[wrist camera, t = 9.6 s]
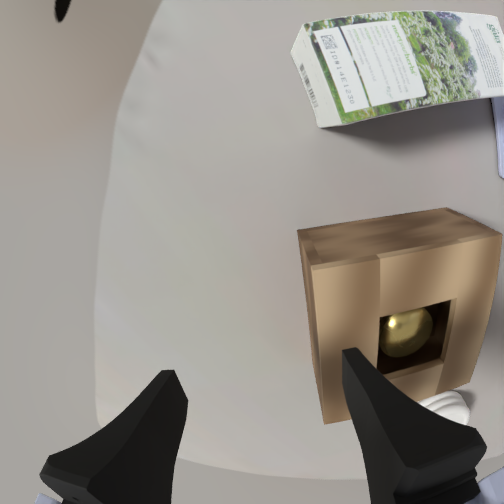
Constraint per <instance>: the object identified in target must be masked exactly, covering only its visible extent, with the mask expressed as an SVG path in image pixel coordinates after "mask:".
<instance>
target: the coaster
mask: <svg viewBox="0 0 504 504" xmlns="http://www.w3.org/2000/svg"><path fill="white" fill-rule="evenodd" d="M418 403H419V404H420V405H422V406H424V407H425V408H427V409H429V410H431V411H433V412H435V413H437V414H439V415H440V416H443V417H445V418H447V419H450V420H452V421H455V422H457V423H460V424H464V425H467V423H468V421H469V418H470V409H469V408H468V407H467V406H466V403H465V401H464V400H463V398H462V396H461V395H460V394H459V393H457V392H455V391H446V392H444V393H441V394H438V395H435V396H433V397H430V398H427V399H424V400H422V401H420V402H418Z"/></svg>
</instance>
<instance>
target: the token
mask: <svg viewBox="0 0 504 504" xmlns="http://www.w3.org/2000/svg"><path fill="white" fill-rule="evenodd" d="M432 326H433V322H432V318H431V316H430V314H429V313H428V311H427V310H426V309H425V308H424V307H421V308H417V309H413V310H409V311H405V312H401V313H396V314H392V315H388V316H383V317H380V321H379V340H378V343H379V345H380V347H381V349H382V351H383V352H384V353H385V354H386V355H388V356H391V357H404V356H407V355H410V354H412V353H414V352H415V351H417V350H418V349H419V348H421V347H422V346H423V345H424V344H425V342H426V341H427V340H428V338H429V336H430V334H431V331H432Z"/></svg>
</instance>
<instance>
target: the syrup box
mask: <svg viewBox="0 0 504 504" xmlns="http://www.w3.org/2000/svg"><path fill="white" fill-rule="evenodd" d="M291 56H292V58H293V60H294V62H295V64H296V67H297V69H298V71H299V74H300V76H301V79H302V81H303V84H304V86H305V89H306V92H307V94H308V97H309V99H310V102H311V105H312V107H313V110H314V113H315V116H316V122H317V124H318V127H319V128H326V127H334V126H343V125H349V124H353V123H356V122H360V121H364V120H368V119H372V118H377V117H381V116H386V115H390V114H395V113H400V112H405V111H410V110H415V109H419V108H424V107H429V106H435V105H441V104H447V103H453V102H460V101H467V100H474V99H482V98H491V97H502V96H504V34H503V32H502V30H501V27H500V23H499V21H498V18H497V17H495V16H491V15H483V14H474V13H463V12H449V11H394V12H379V13H368V14H358V15H351V16H344V17H337V18H331V19H325V20H319V21H314V22H309V23H305V24H303V25H302V28H301V30H300V32H299V34H298V36H297V38H296V40H295V43H294V45H293V48H292V50H291Z"/></svg>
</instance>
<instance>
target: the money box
mask: <svg viewBox="0 0 504 504" xmlns="http://www.w3.org/2000/svg"><path fill="white" fill-rule="evenodd" d="M297 233H298V240H299V247H300V254H301V262H302V270H303V277H304V286H305V294H306V302H307V311H308V320H309V330H310V340H311V350H312V360H313V367H314V373H315V378H316V383H317V388H318V394H319V399H320V404H321V410H322V415H323V421H324V424H330V423H335V422H341V421H345V420H350V419H352V418H351V415H350V412H349V410H348V407H347V404H346V399H345V395H344V390H343V385H342V350H344V349H349V348H354V347H357V348H358V349H359V350H360V351H361V352H362V354H363V355H364V356H365V357H366V358H367V359H368V360H369V361H370V363H371V364H372V365H373V366H374V367H375V368H376V369H377V370H378V371H379V372H380V373H381V374H382V375H383V376H384V377H385V378H386V379H388V380H389V381H390V382H391V383H392V384H393V385H394V386H396V387H397V388H398V389H399V390H400V391H402V392H403V393H404V394H406V395H407V396H408V397H410V398H411V399H413V400H414V401H416V402H418V401H421V400H424V399H427V398H430V397H433V396H435V395H438V394H441V393H444V392H446V391H449V390H452V389H454V388H457V387H459V386H462V385H464V384H466V383H469V382H470V379H471V377H472V374H473V371H474V368H475V365H476V362H477V359H478V356H479V353H480V349H481V346H482V343H483V339H484V335H485V332H486V328H487V324H488V320H489V316H490V311H491V307H492V302H493V297H494V292H495V287H496V281H497V275H498V268H499V261H500V253H501V244H502V234H501V233H499V232H497V231H495V230H493V229H491V228H489V227H487V226H485V225H483V224H481V223H479V222H477V221H475V220H473V219H471V218H469V217H467V216H464V215H462V214H460V213H458V212H456V211H453V210H451V209H449V208H440V209H433V210H426V211H419V212H412V213H405V214H399V215H392V216H385V217H378V218H372V219H365V220H359V221H352V222H346V223H339V224H333V225H326V226H320V227H314V228H307V229H301V230H297ZM421 307H424V308H425V309H426V310H427V311H428V313H429V314H430V316H431V318H432V322H433V326H432V331H431V334H430V336H429V338H428V340H427V341H426V342H425V344H424V345H423V346H422V347H421V348H419V349H418V350H417V351H415V352H414V353H412V354H410V355H407V356H404V357H391V356H388V355H386V354H385V353H384V352H383V351H382V349H381V347H380V345H379V343H378V340H379V321H380V317H383V316H388V315H392V314H396V313H401V312H405V311H409V310H413V309H417V308H421Z"/></svg>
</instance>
